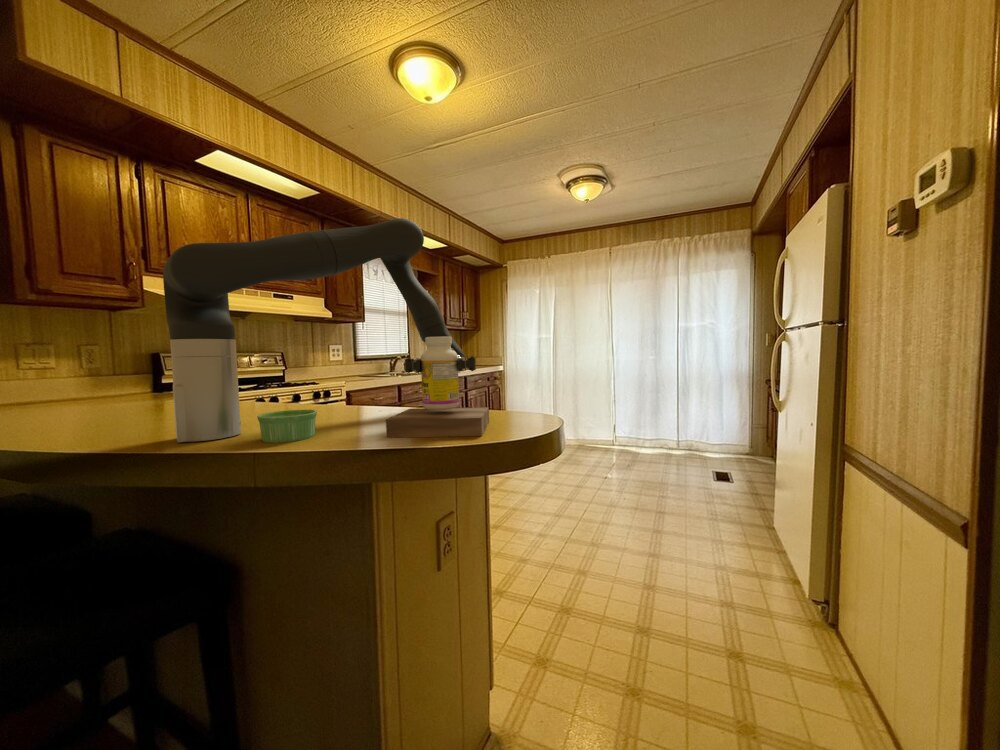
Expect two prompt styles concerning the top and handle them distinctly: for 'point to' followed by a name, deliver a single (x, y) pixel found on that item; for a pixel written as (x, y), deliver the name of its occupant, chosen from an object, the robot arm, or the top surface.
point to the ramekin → (287, 425)
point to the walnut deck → (438, 422)
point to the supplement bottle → (439, 374)
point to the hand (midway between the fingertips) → (439, 365)
